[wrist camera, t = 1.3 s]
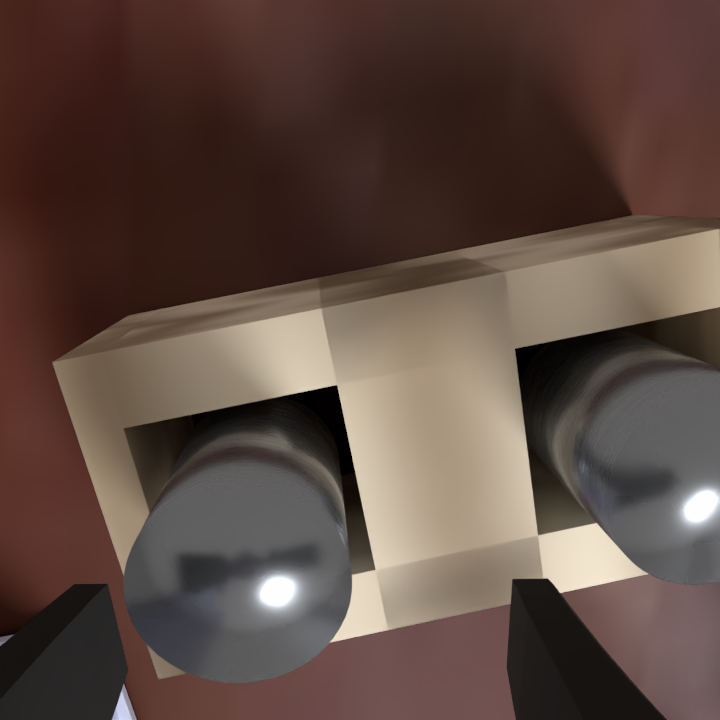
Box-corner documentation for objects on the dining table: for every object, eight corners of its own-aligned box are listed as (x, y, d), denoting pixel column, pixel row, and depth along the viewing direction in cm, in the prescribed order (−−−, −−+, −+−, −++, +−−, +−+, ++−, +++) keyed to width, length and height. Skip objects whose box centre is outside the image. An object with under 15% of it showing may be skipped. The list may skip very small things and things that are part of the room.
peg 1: (205, 550, 18) (158, 702, 12) (165, 411, 17) (94, 512, 11) (352, 519, 18) (370, 656, 12) (322, 379, 17) (328, 464, 11)
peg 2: (524, 483, 18) (615, 604, 13) (505, 342, 17) (597, 407, 11) (666, 453, 18) (818, 560, 13) (659, 311, 17) (821, 361, 12)
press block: (198, 554, 22) (158, 679, 16) (128, 315, 20) (52, 362, 14) (649, 459, 22) (767, 548, 17) (633, 215, 20) (763, 220, 14)
